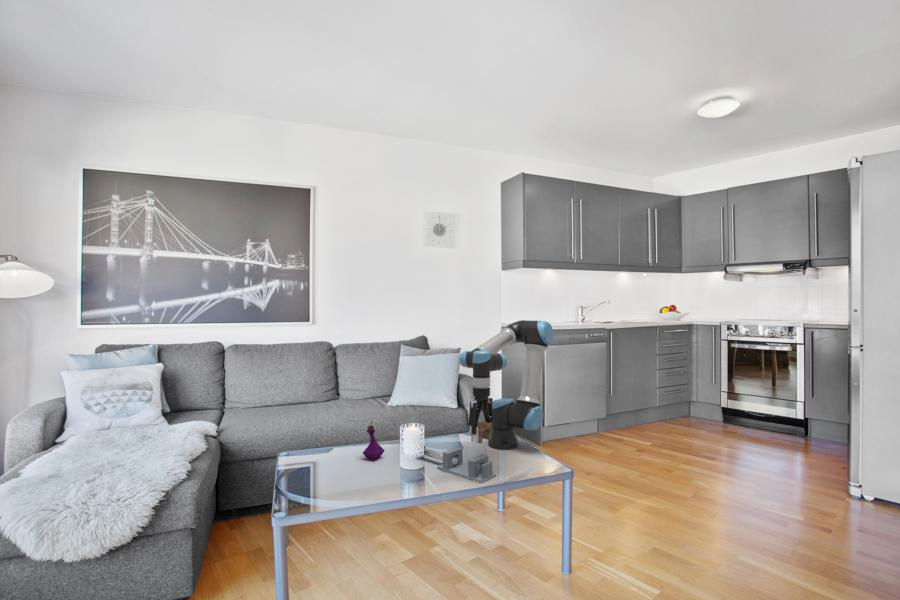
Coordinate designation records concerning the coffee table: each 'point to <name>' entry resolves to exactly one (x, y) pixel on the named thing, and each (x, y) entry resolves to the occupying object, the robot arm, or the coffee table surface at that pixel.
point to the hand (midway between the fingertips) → (481, 439)
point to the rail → (467, 466)
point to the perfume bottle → (373, 445)
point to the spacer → (483, 431)
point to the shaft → (438, 455)
